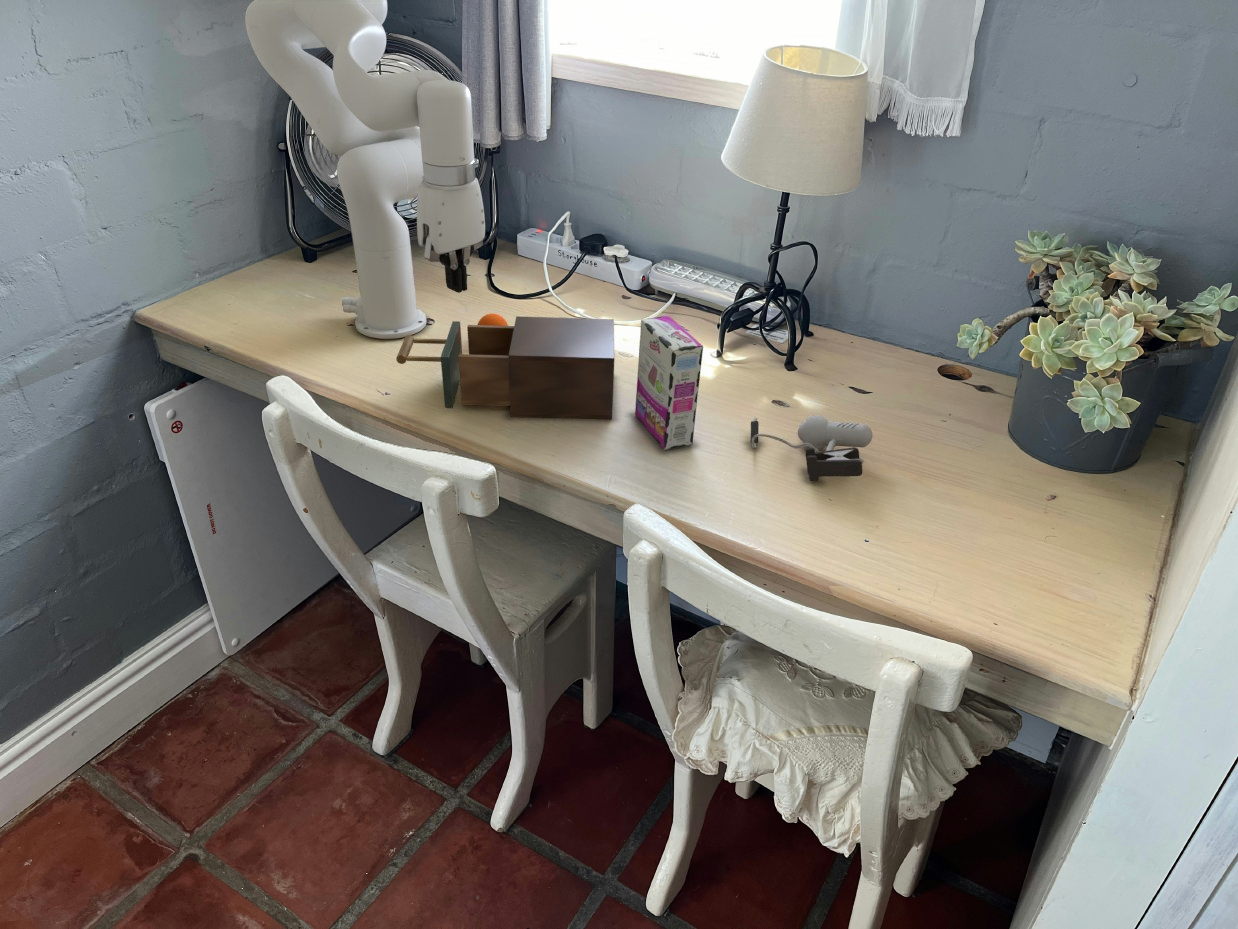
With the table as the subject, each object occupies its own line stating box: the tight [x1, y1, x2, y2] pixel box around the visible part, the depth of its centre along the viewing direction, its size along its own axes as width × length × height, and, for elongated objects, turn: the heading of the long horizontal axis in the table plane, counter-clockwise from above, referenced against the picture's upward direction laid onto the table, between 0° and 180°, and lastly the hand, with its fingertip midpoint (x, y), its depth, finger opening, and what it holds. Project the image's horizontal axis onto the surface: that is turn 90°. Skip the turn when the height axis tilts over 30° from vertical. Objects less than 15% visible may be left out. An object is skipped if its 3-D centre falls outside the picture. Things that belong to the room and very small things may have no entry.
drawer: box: [395, 320, 514, 409], centre depth 137 cm, size 22×12×9 cm, turn 91°
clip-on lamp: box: [750, 414, 873, 483], centre depth 127 cm, size 12×6×18 cm
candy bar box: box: [634, 315, 704, 451], centre depth 128 cm, size 11×5×16 cm, turn 23°
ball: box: [477, 313, 509, 326], centre depth 153 cm, size 6×6×6 cm
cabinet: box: [509, 315, 615, 421], centre depth 137 cm, size 16×14×11 cm
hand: (457, 288), depth 139 cm, fingers closed
